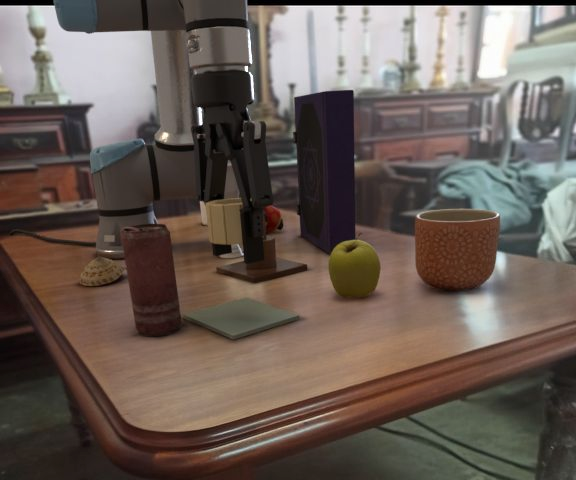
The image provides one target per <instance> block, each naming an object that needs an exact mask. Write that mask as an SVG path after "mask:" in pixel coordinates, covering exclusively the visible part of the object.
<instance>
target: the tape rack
mask: <svg viewBox="0 0 576 480" xmlns="http://www.w3.org/2000/svg"><path fill="white" fill-rule="evenodd" d="M263 197H264V195H263ZM262 216H263V229H264V234H263V247H264V260H263V261H259V262H254V263H250V264H246V263H244V260H242V261H241V260H240V261H238V262H237V261H236V262H232V263H228V264H223V265H220V266H216V267H215V268H216V273H218V274H222V275H225V276H227V277H232V278H235V279H239V280H242V281H245V282H249V283H253V284H256V283H257V284H258V283H260V282H265V281H269V280H273V279H277V278H280V277H285V276H288V275H293V274H296V273H301V272H304V271H308V264H307V263H302V262H298V261H294V260H289V259H285V258H280V257H277V251H276V237H275V236H272V235H267V232H266V224H265V210H263V211H262Z"/></svg>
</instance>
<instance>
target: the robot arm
mask: <svg viewBox="0 0 576 480" xmlns="http://www.w3.org/2000/svg"><path fill="white" fill-rule="evenodd" d="M53 6H54V10H55V16H56V19H57V22H58V25H59V27H60V28H61V29H62V30H63V31H65V32H68V33H69V32H70V33H73V32H74V33H85V34H87V35H89V34H94V33H117V32H119V33H121V32H150V37H151V45H152V46H151V47H152V57H153V64H154V65H153V67H154V75H155V84H156V93H157V104H158V112H159V113H158V115H159V122H160V127H159V129H158V130H157V131H156V132H155V134H154V144H146V141H144V139H143V138H135V139H130V140H124V141H119V142H114V143H110V144H105V145H101V146H96V147H94V148H93V149H92V150H91V151H90V152H89V165H90V174H91V175H92V180H93V188H94V192H95V199H96V206H97V211H98V219H99V222H98V228H97V234H96V235H97V236H96V240H95V241H83V240H73V239H72V240H71V239H62V238H61V239H60V238H53V237H52V238H51V237H48V236H44V235H42V236H40V235H41V234H39V235H37V234H38V233H36V232H33V231H27V230H23V229H18V228H15V229H12V230H11V231H10V233H9V236H13V235H15V233H18V234H19V233H20V234H23V235H27V236H33V237H35V238H38V239H40V240H43V241H46V242H52V243H58V244H68V245H69V244H70V245H79V246H93V247H95V251H96V257H103V258H108V259H111V260H113V259H115V260H119V259H125V257H124V251H123V247H122V241H121V230H122V229H123V228H124V227H130V226H135V225H142V224H159V221H158V220H157V218H156V216H155V211H154V205H153V202H160V201H168V200H169V201H170V200H182V199H196V200H197V201H198V202H200V201H203V202H204V204H206V203H207V202H210V201H213V200H220V199H224V193H225V184H226V174H227V165H228V164H229V162H230V163H231V165H232V168H233V172H234V175H235V179H236V182H237V186H238V189H239V194H240V196H241V200H242V203H243V207H244V208H241V209H240V210H239V211H240V218H241V229H242V241H243V244H242V253H243V254H244V255H243V261H244V263H246V264H250V263H254V262H259V261H263V260H264V247H263V234H264V229H263V216H262V211H263V210H264V208H265V207H267V206H273V205H274V196H273V195H274V194H273V189H272V181H271V174H270V173H271V172H270V167H269V160H268V159H269V158H268V151H267V146H266V139H267V138H266V137H267V123H266V121H264V120H252V119H251V117H250V114H249V110H248V106H250V105H252V104H254V102H255V92H254V77H253V74H252V72H250V71H248V69H249V68H251V66H253V58H252V46H251V45H252V44H251V33H250V27H249V13H248V0H53ZM202 110H203V111H202ZM202 112H203V115H202ZM263 195H264V197H263ZM250 199H251V200H250ZM205 206H206V205H205ZM211 250H212V256H213V257H218V256H219V257H220V255H224V254H228V253H232V247H231V245H228V244H226V245H224V244H214V243H212V242H211Z"/></svg>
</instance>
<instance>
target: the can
mask: <svg viewBox="0 0 576 480" xmlns="http://www.w3.org/2000/svg"><path fill="white" fill-rule="evenodd" d="M121 241H122V247H123V251H124V257H125V258H124V262H125V263H124V264H125V267H126V275H127V281H128V288H129V293H130V299H131V306H132V312H133V319H134V324H135V329H136V331H137V332H138V333H139V334H140V335H141V336H145V337H161V336H167V335H171V334H173V333H176V332H178V331H179V330H180V328H181V326H182V315H181V307H180V299H179V292H178V285H177V276H176V269H175V261H174V253H173V246H172V239H171V232H170V229H168V227H167V225H166V224H165V223H164V224H163V223H158V224H142V225H135V226H130V227H124V228H123V229H122V230H121Z"/></svg>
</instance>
